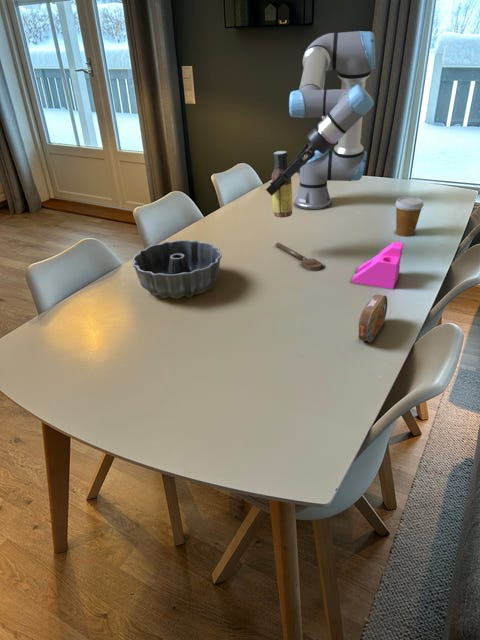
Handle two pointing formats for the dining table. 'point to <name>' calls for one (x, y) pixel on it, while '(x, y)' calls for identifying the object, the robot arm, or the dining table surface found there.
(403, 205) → the disposable coffee cup
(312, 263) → the wooden spoon
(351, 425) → the dining table surface
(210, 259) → the bundt pan
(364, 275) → the bracket
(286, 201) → the sauce bottle
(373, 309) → the tin
